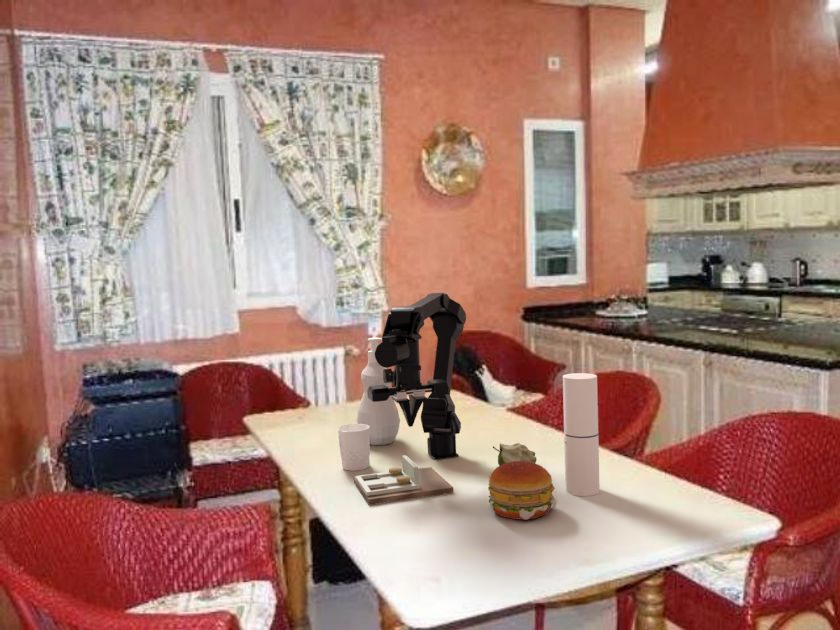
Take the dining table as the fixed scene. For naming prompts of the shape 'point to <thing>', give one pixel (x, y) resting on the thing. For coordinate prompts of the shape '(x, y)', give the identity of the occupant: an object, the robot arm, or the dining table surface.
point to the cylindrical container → (581, 434)
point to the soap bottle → (377, 403)
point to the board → (428, 483)
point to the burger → (521, 490)
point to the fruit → (515, 454)
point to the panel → (391, 479)
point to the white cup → (354, 446)
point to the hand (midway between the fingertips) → (410, 426)
